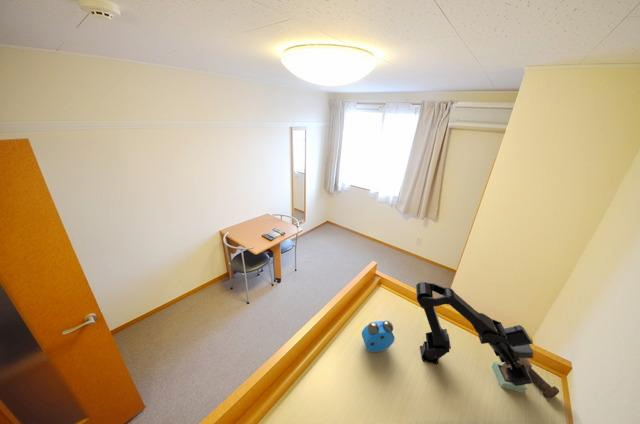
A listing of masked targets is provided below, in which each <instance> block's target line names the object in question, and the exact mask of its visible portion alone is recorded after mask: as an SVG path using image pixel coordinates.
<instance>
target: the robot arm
mask: <svg viewBox="0 0 640 424" xmlns="http://www.w3.org/2000/svg"><path fill="white" fill-rule="evenodd" d="M433 292H435V293H437V294H439V295H440V297H434V293H433ZM415 293H416V294H415V295H416V301H417V303H418V305H419V306H420V307H421V308H422V309H423V310H424V313H425V316H426V318H427V319H426V320H427V322H428V325H429V328H430V332H428V331H427V332H426V333H425V341H423V342H422V343H423V344H422V345H420V346H419V351H420V355H421V360H422V361H423V362H427V363H430V364H435V365H439V359H440V358H442V357H443V356H445V355H446V354H447V353H450V351H451V349H452V346H451V341H450V340H451V339H450V336H449V333H448V330H447V328H443V327H441V324H440V320H439V316H438V314H437V313H438V312H437V311H436V308H435V307H439V306H442V305H448V306H450V307H452V309H454V310H455V311H456V312H457V313H459V314H460V316H462V317H463V318H465V319H466V321H468V322H469V323H470V324H471V325H472V327H473V329H474V330H475V332H476V333H477V334H478V335H477V337H478V339H479V341H480V345H482V344H483V345H484V344H488V345H489V346H490V347H491V349H492V350H493V352H494V355H496V357H498V358H499V361H500V362H501V364H504V363H505V362H506V364H507V365H508V366H511V367H509V368H506V370H507V371H506V373H507V375H508V377H509V379H510V381H511V383H512V384H513V385H515V386H519V385H525V386H526V385H530V384H533V382H534V381H533V380H532V379H531V377H530V375H529V374H528V372H527V370H526V369H525V367H524V365H521V364H519V363H517V361H520V359H519V358H528V359H533V358H534V349H532V347H531V345H533V341H532V339H531V338H530V335H529V333H528V332H527V331H526V329H525V328H524V327H523V326H522V325H520V324H519V325H514V326H511V327H506V328H505V327H504V326H503V323H502V322H500V321H498V320H496V319H492V318H491V317H489V316H488V315H487V314H485V313H482V312H478V311H477V310H476V309H475V308H473V307H472V306H471V305H470V304H468V303H467V302H466V301H465V300H464V299H463V298H461V297H460V296H459V295H458V294H457V293H456V292H455V291H454V289H452V288H451V287H443V286H441V285H439V284H437V283H433V282H425V281H424V282H418V283H417V284H416V285H415ZM513 362H514V363H515V364H514V363H513ZM510 364H511V365H510Z"/></svg>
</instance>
